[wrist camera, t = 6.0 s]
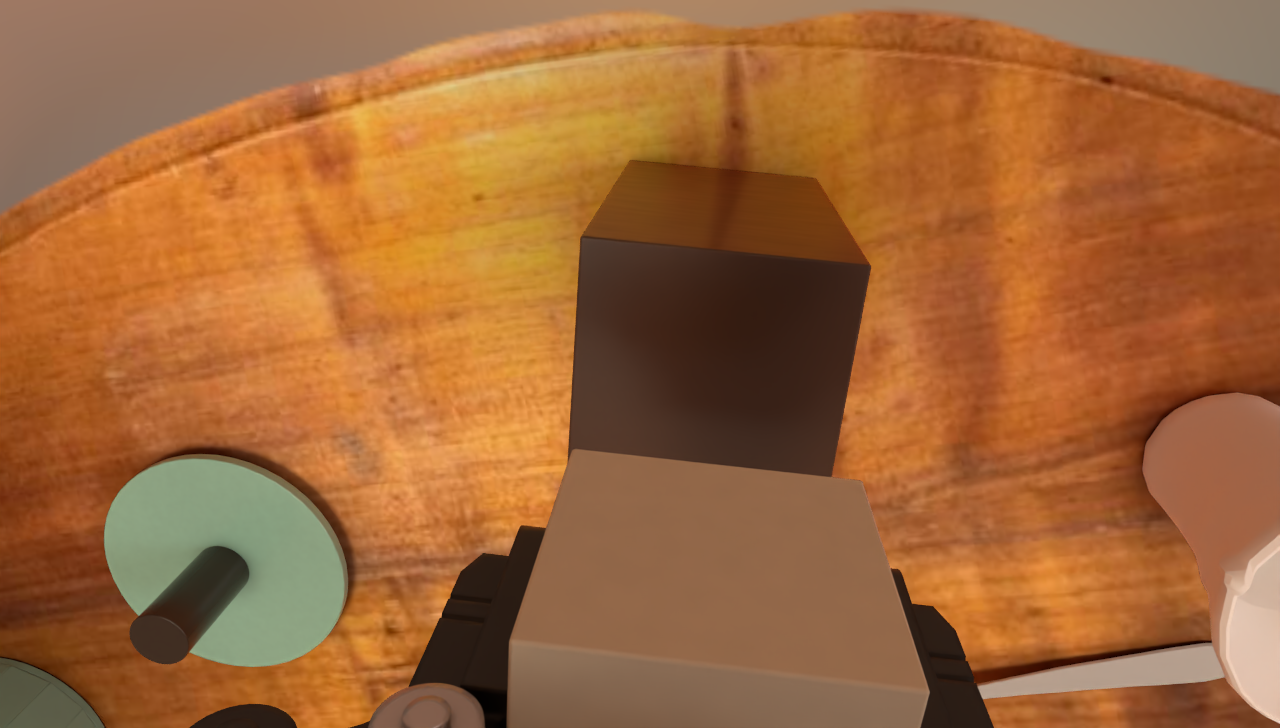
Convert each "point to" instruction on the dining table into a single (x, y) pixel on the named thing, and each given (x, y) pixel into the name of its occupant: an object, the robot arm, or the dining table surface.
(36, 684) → the tin
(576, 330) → the stand
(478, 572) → the robot arm
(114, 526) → the tin lid
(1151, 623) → the dining table surface
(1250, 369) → the dining table surface
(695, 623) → the wax block
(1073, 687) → the fork
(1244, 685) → the cup
